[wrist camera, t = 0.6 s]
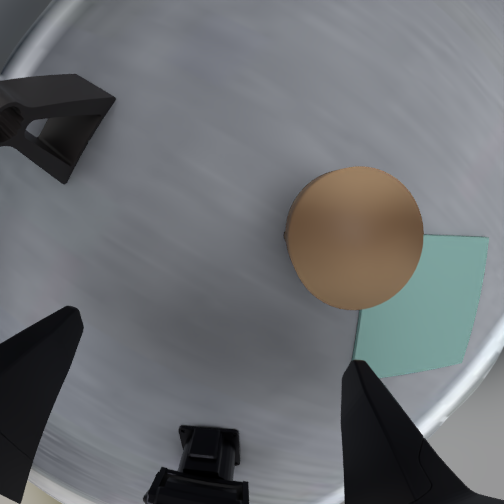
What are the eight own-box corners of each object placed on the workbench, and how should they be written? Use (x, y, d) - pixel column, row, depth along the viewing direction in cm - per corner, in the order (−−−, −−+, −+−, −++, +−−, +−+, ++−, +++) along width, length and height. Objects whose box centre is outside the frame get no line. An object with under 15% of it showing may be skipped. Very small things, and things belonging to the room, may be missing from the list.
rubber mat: (459, 360, 25) (461, 362, 25) (348, 377, 26) (350, 381, 25) (485, 236, 23) (488, 237, 22) (366, 232, 23) (369, 233, 22)
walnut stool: (358, 261, 23) (414, 306, 14) (276, 261, 24) (287, 312, 14) (361, 178, 22) (426, 173, 12) (276, 174, 22) (290, 162, 12)
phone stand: (78, 74, 20) (-5, 33, 9) (117, 98, 21) (29, 51, 9) (32, 154, 22) (-59, 150, 10) (65, 184, 23) (-34, 190, 11)
